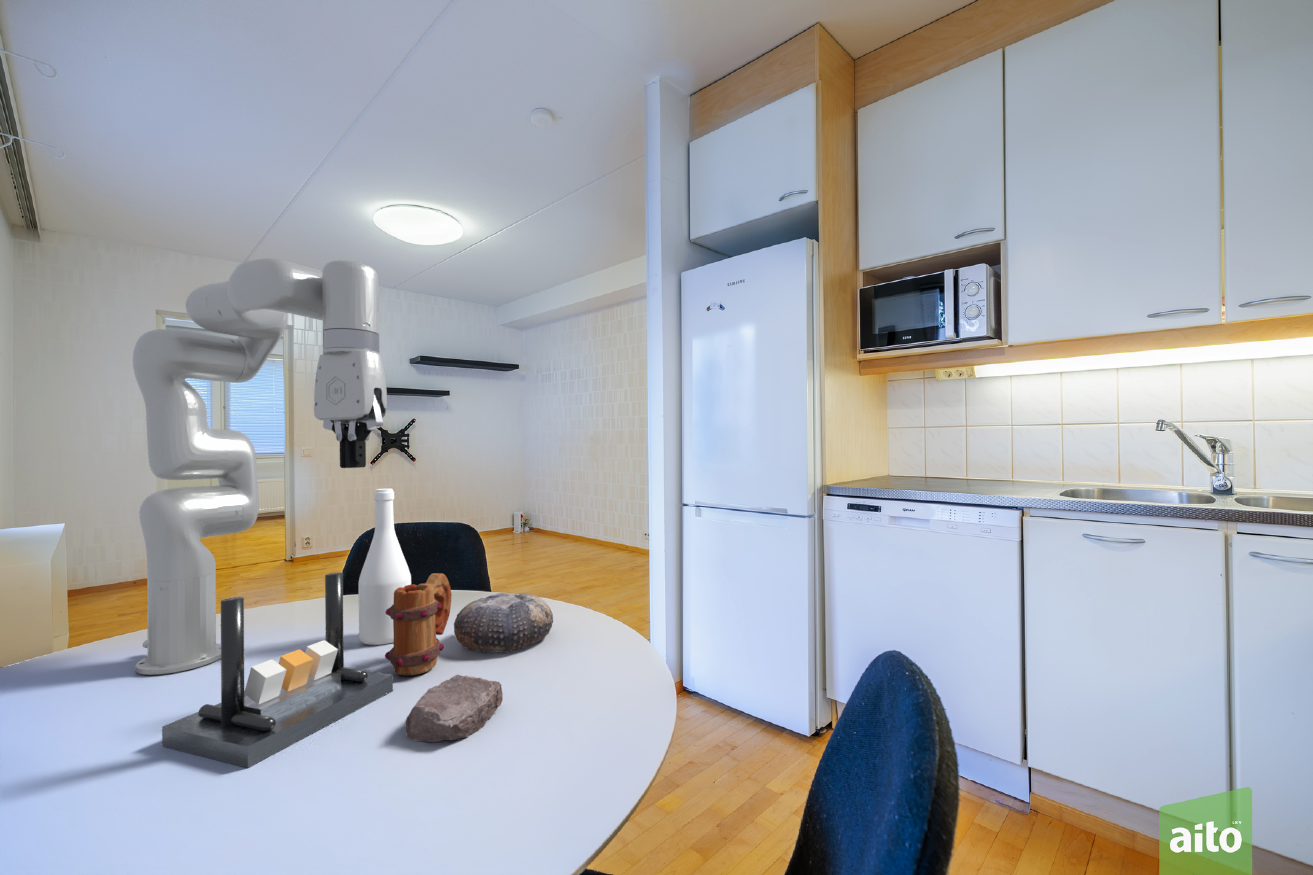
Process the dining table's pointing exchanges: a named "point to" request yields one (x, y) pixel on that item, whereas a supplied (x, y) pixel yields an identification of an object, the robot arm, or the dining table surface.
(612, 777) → the dining table surface
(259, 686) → the white tilted cube
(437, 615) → the mug
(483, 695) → the stone
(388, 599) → the wine bottle
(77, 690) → the dining table surface
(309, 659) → the block
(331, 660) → the white leaning block
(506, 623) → the sea urchin shell
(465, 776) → the dining table surface
